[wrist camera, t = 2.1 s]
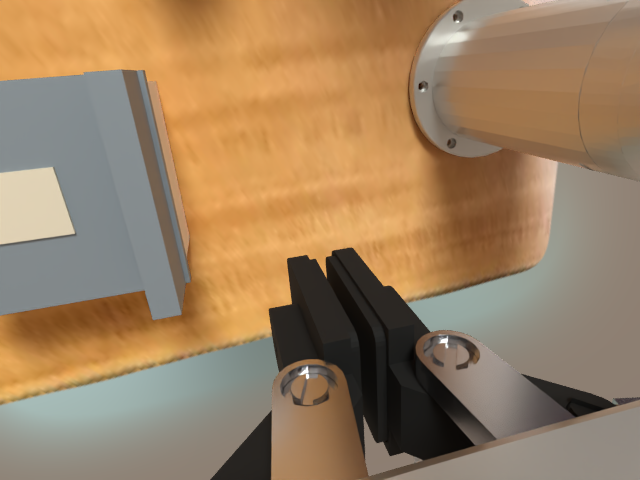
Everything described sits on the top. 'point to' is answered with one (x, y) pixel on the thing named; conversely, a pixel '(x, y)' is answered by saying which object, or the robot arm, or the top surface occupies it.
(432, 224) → the top surface
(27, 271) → the mailer lid
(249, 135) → the top surface
